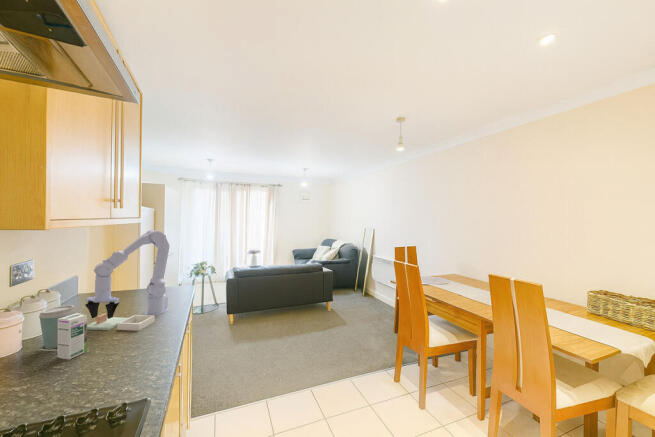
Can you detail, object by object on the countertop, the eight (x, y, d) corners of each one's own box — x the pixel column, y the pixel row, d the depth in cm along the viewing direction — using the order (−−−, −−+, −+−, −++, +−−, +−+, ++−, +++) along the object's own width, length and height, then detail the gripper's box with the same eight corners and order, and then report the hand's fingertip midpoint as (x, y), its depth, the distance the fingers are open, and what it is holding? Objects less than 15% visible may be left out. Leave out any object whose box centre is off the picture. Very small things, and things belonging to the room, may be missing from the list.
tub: (134, 321, 126) (134, 314, 126) (154, 322, 125) (154, 315, 125) (117, 330, 116) (117, 323, 116) (139, 331, 115) (139, 324, 115)
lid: (105, 320, 127) (105, 310, 127) (128, 321, 126) (128, 311, 126) (83, 330, 115) (83, 319, 115) (108, 331, 115) (108, 320, 115)
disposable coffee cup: (28, 352, 97) (29, 312, 97) (58, 338, 107) (59, 302, 107) (56, 353, 97) (57, 313, 96) (84, 339, 107) (84, 303, 107)
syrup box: (69, 360, 92) (70, 319, 92) (56, 357, 93) (57, 318, 93) (86, 352, 98) (87, 314, 98) (74, 349, 99) (75, 312, 99)
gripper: (79, 290, 117) (78, 320, 117) (110, 291, 117) (110, 321, 117) (94, 286, 124) (93, 314, 124) (123, 287, 124) (122, 315, 124)
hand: (102, 317), depth 121 cm, fingers open, 7 cm apart
